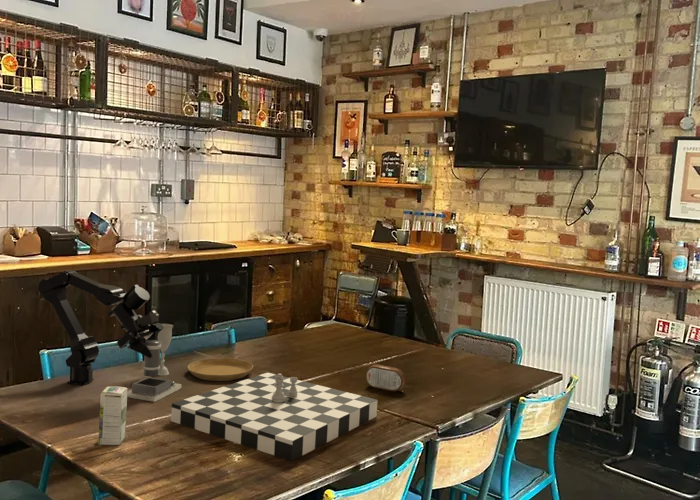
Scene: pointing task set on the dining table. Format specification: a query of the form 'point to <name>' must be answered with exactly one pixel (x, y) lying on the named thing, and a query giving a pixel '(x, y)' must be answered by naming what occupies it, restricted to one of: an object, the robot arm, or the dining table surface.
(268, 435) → the checkerboard
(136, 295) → the robot arm
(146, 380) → the white base plate
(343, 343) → the dining table surface
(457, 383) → the dining table surface
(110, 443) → the syrup box
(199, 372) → the plant saucer
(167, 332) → the chalice
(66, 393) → the dining table surface
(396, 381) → the tin
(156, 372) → the grey rounded cylinder
